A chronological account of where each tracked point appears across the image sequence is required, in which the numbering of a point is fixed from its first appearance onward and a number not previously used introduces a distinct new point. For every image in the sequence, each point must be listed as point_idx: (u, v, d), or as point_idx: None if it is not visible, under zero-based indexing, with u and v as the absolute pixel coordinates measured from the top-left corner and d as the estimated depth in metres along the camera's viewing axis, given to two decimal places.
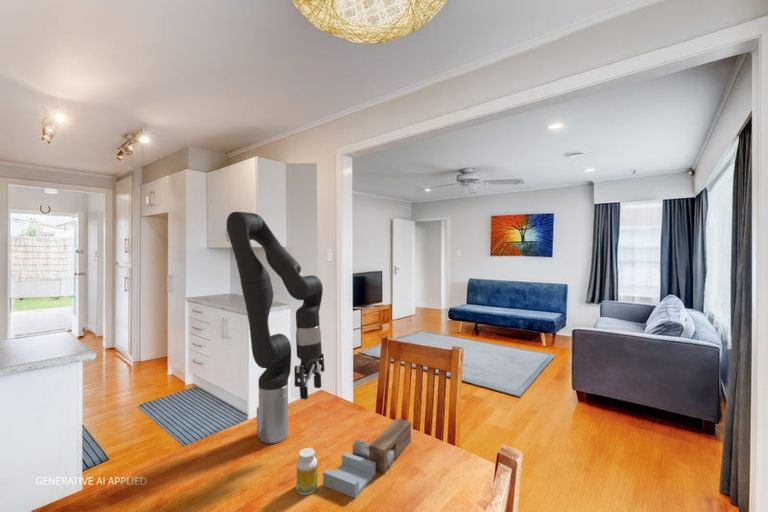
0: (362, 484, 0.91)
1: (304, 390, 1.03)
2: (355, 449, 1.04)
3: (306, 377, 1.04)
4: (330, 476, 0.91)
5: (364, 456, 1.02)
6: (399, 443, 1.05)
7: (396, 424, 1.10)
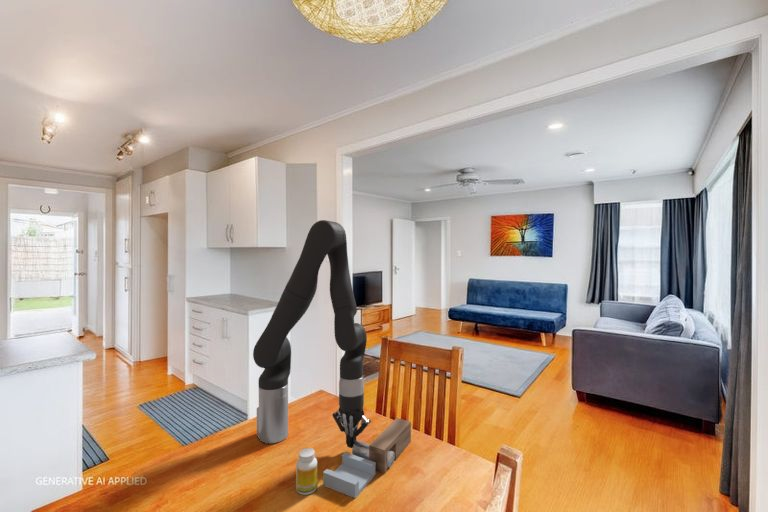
0: (362, 484, 0.91)
1: None
2: (355, 451, 1.04)
3: (357, 426, 1.07)
4: (330, 476, 0.91)
5: (364, 458, 1.02)
6: (399, 443, 1.05)
7: (396, 424, 1.10)
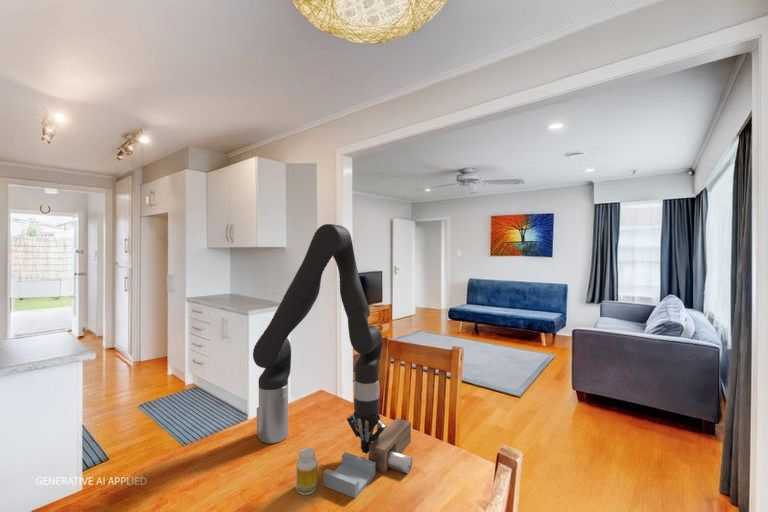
0: (362, 484, 0.91)
1: None
2: None
3: (372, 430, 1.04)
4: (330, 476, 0.91)
5: None
6: (399, 443, 1.05)
7: (396, 424, 1.10)
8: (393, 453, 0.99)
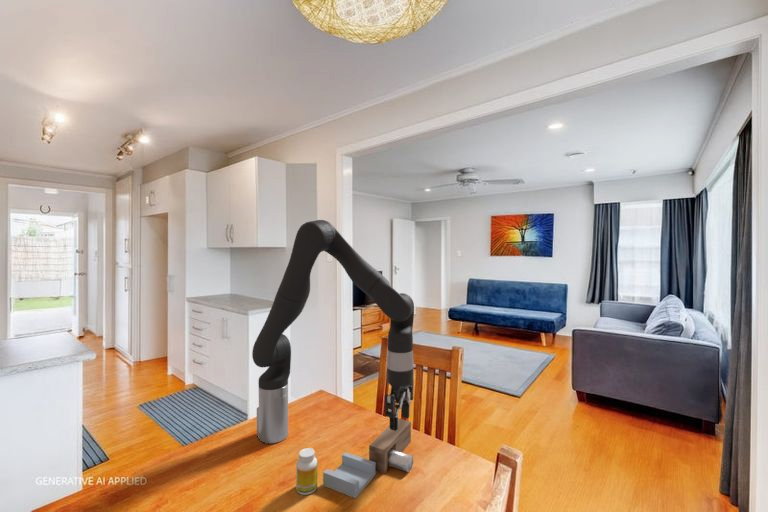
0: (362, 484, 0.91)
1: None
2: None
3: None
4: (330, 476, 0.91)
5: None
6: (399, 443, 1.05)
7: None
8: (395, 451, 1.01)
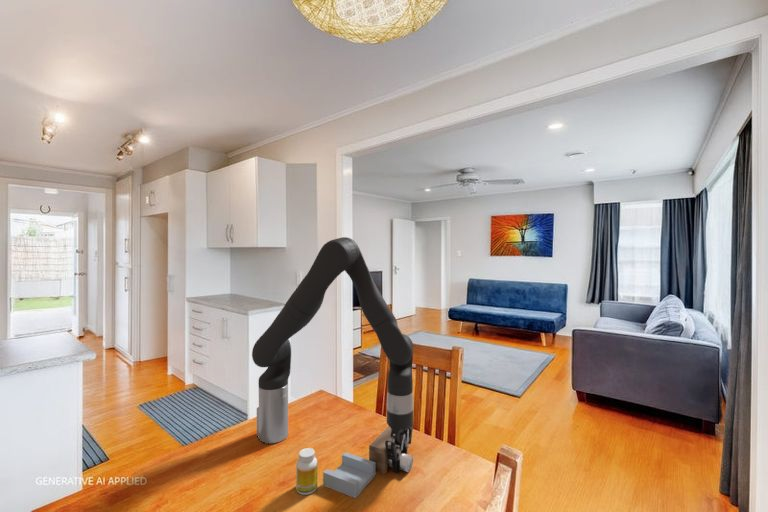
0: (362, 484, 0.91)
1: None
2: None
3: None
4: (330, 476, 0.91)
5: None
6: None
7: None
8: None
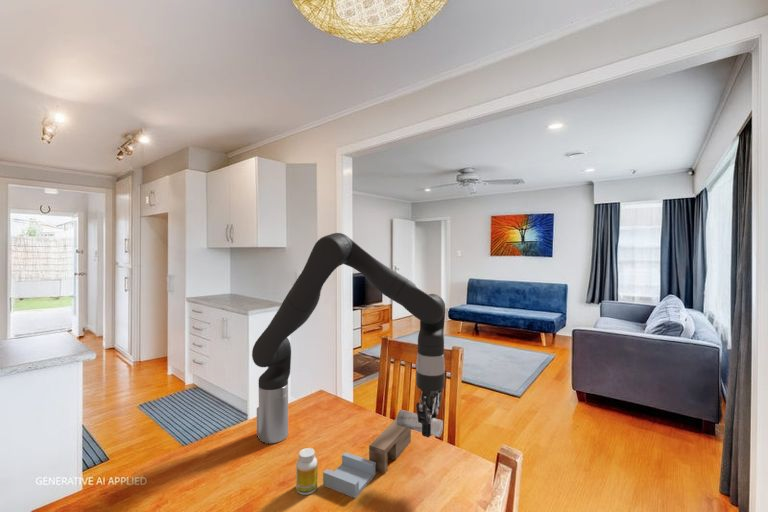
0: (362, 484, 0.91)
1: None
2: (400, 418, 0.97)
3: None
4: (330, 476, 0.91)
5: (410, 426, 0.95)
6: (399, 443, 1.05)
7: (396, 424, 1.10)
8: None
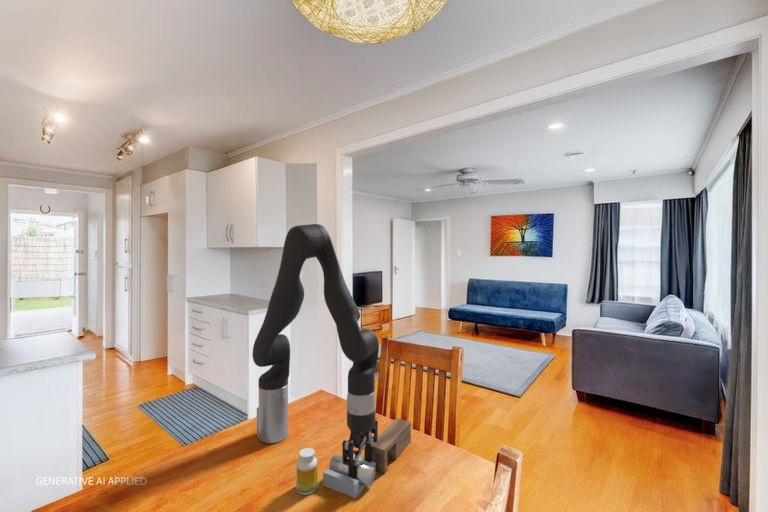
0: (362, 484, 0.91)
1: None
2: (332, 465, 0.94)
3: None
4: (330, 476, 0.91)
5: (341, 473, 0.93)
6: (399, 443, 1.05)
7: (396, 424, 1.10)
8: None
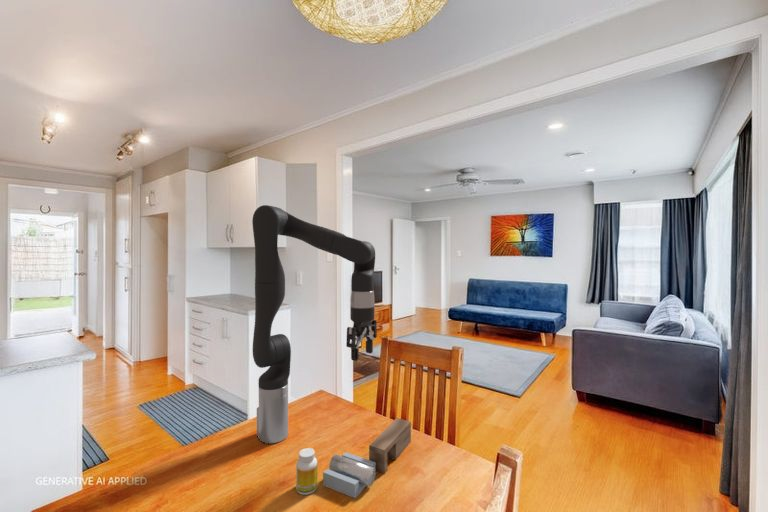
0: (362, 484, 0.91)
1: None
2: (332, 465, 0.94)
3: None
4: (330, 476, 0.91)
5: (341, 473, 0.93)
6: (399, 443, 1.05)
7: (396, 424, 1.10)
8: (356, 462, 0.93)
